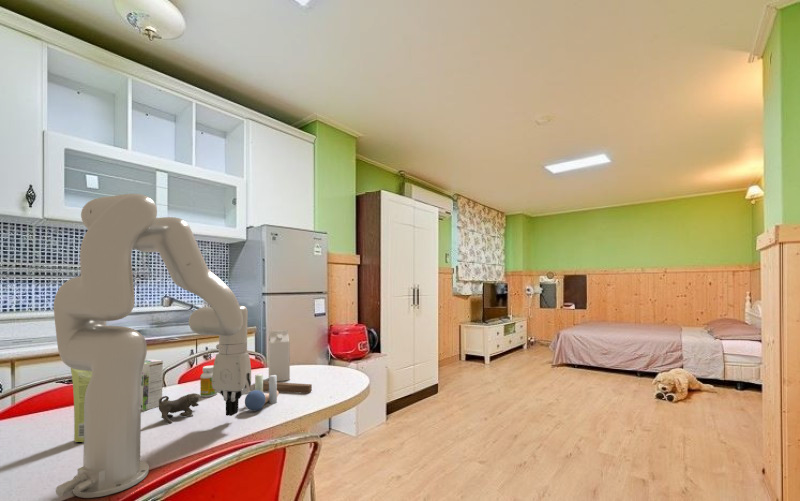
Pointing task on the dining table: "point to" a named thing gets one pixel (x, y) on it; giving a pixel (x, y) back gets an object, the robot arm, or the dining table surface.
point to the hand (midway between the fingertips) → (231, 414)
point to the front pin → (268, 397)
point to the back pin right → (272, 389)
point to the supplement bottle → (207, 382)
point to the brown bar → (290, 387)
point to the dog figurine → (177, 406)
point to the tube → (79, 401)
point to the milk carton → (279, 355)
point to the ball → (255, 400)
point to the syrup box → (151, 384)
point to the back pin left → (259, 382)
